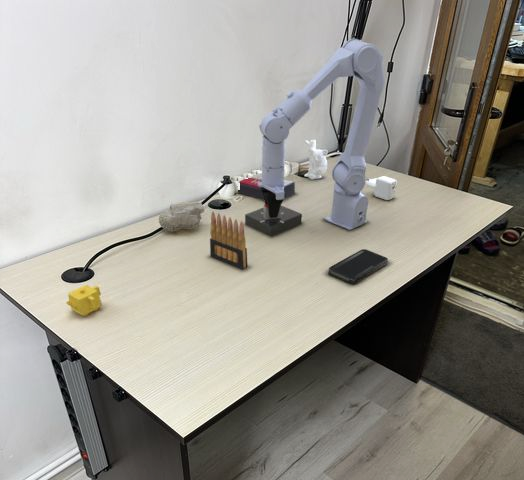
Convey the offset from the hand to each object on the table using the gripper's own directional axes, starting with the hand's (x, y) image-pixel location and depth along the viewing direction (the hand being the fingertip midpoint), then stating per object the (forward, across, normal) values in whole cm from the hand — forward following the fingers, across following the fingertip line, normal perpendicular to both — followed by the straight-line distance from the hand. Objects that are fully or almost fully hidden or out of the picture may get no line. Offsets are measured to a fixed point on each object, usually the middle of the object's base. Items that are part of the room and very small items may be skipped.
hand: (272, 215), depth 136 cm
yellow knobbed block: (+4, +30, -49) cm, 58 cm away
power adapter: (+4, -15, +39) cm, 42 cm away
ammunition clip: (+4, +16, -16) cm, 23 cm away
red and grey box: (+4, -25, +5) cm, 26 cm away
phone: (+4, +27, +14) cm, 31 cm away
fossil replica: (+4, -6, -24) cm, 25 cm away
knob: (+1, 0, 0) cm, 1 cm away
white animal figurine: (+4, -35, +25) cm, 43 cm away
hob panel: (+4, -2, +1) cm, 4 cm away
